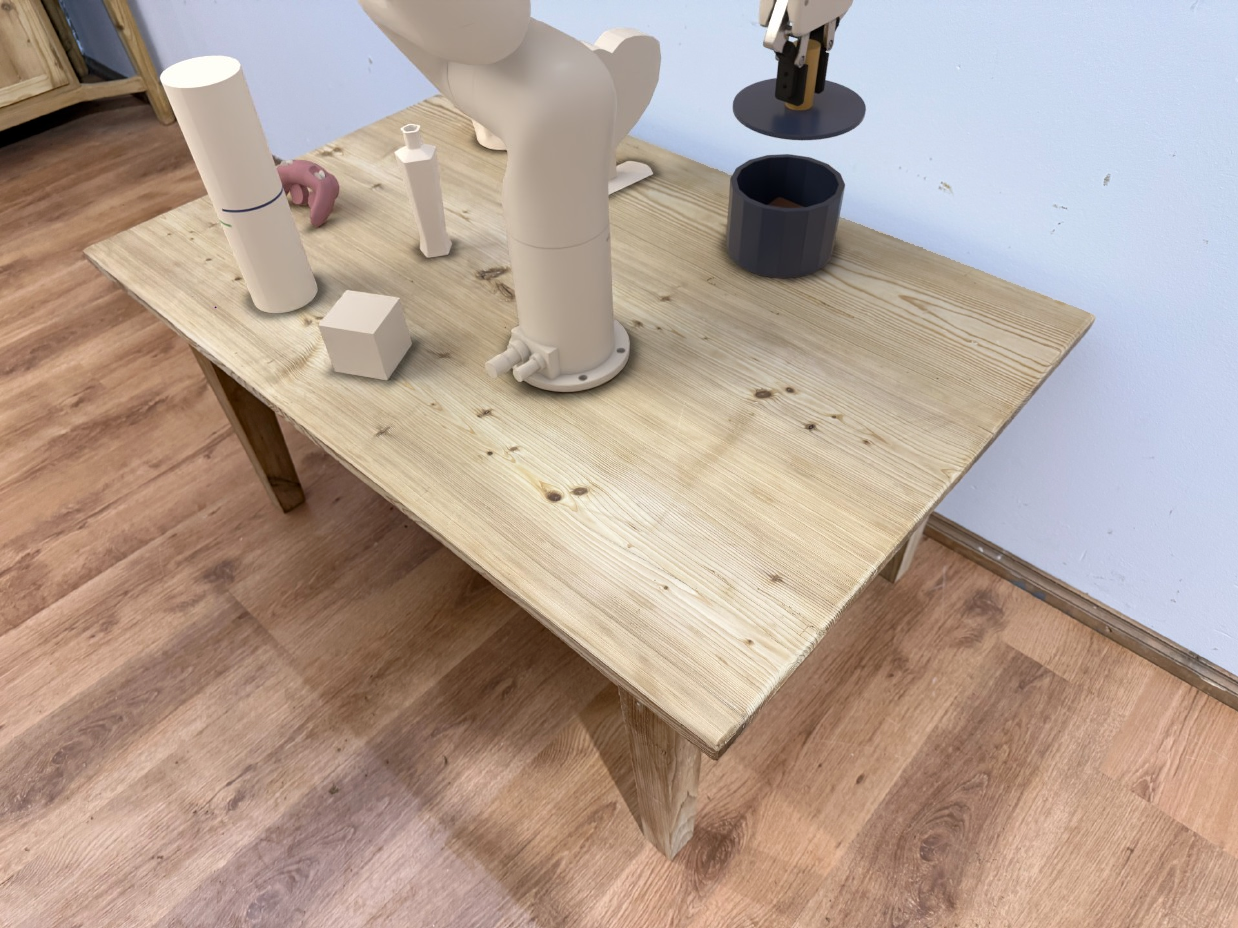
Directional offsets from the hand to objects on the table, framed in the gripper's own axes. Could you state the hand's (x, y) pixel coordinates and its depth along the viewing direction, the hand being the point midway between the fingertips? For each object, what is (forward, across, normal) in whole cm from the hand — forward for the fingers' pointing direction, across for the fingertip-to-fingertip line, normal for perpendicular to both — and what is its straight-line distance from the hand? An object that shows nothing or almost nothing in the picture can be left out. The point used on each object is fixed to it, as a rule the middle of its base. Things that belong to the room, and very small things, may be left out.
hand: (799, 94), depth 87 cm
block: (+18, 0, 0) cm, 18 cm away
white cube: (+18, +44, -20) cm, 52 cm away
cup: (+18, +2, -46) cm, 50 cm away
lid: (+2, 0, 0) cm, 2 cm away
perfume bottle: (+18, +27, -31) cm, 45 cm away
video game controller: (+18, +32, -51) cm, 63 cm away
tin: (+18, 0, 0) cm, 18 cm away
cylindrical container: (+18, +44, -37) cm, 60 cm away
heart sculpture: (+18, +2, -26) cm, 32 cm away
